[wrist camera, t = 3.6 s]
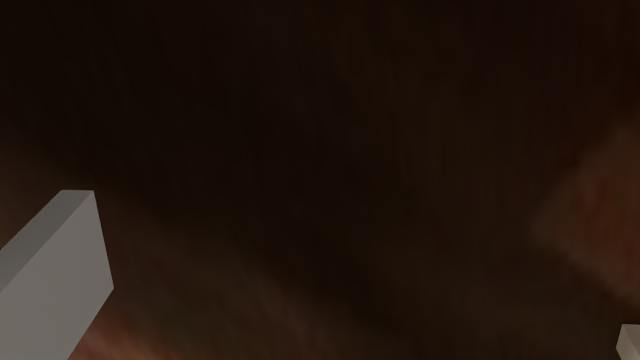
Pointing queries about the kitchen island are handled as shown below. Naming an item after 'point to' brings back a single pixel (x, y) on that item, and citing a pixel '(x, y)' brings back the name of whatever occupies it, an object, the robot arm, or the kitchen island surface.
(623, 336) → the channel
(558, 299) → the kitchen island surface
